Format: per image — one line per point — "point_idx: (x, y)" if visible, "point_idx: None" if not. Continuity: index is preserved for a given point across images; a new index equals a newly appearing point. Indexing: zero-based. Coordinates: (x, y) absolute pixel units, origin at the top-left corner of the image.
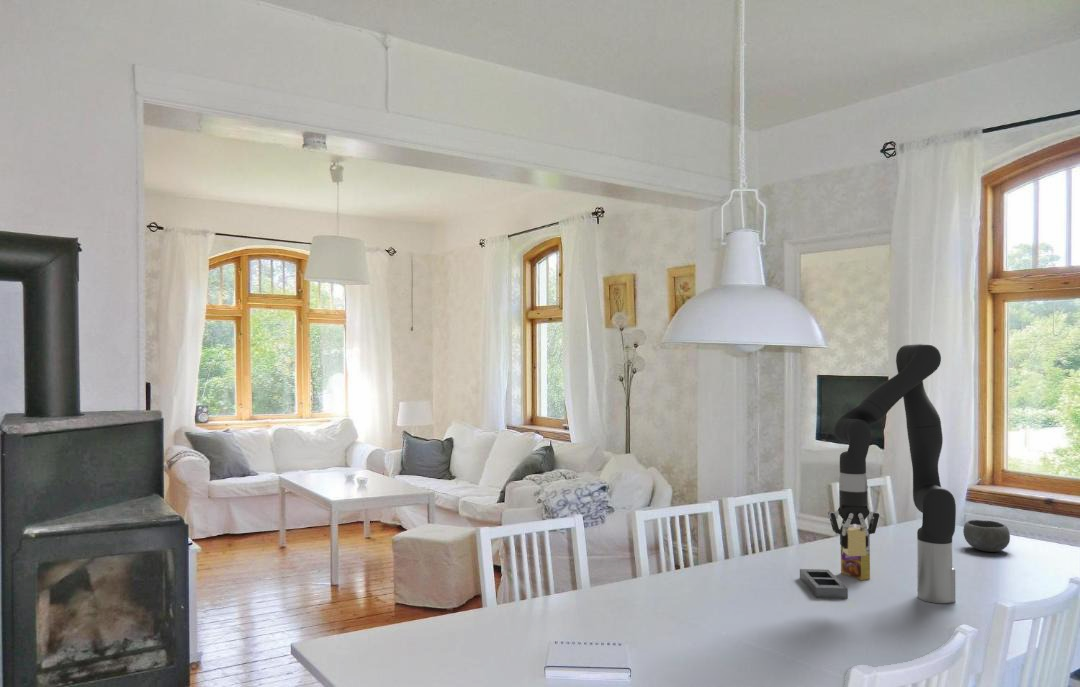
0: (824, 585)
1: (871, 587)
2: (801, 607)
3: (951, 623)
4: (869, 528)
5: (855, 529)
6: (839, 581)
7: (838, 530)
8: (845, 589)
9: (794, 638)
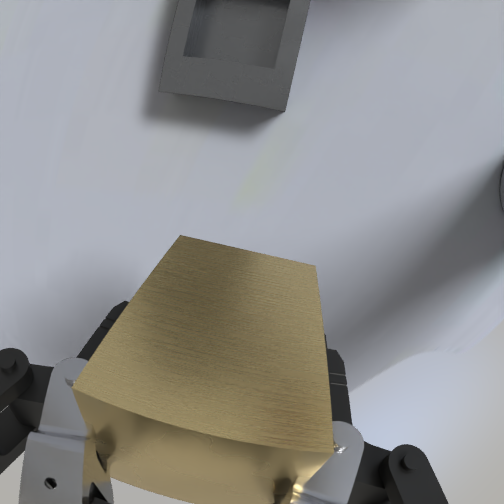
0: (204, 64)
1: (438, 22)
2: (94, 188)
3: (423, 346)
4: (383, 491)
5: (204, 484)
6: (300, 18)
7: (38, 427)
8: (275, 109)
9: (62, 351)
